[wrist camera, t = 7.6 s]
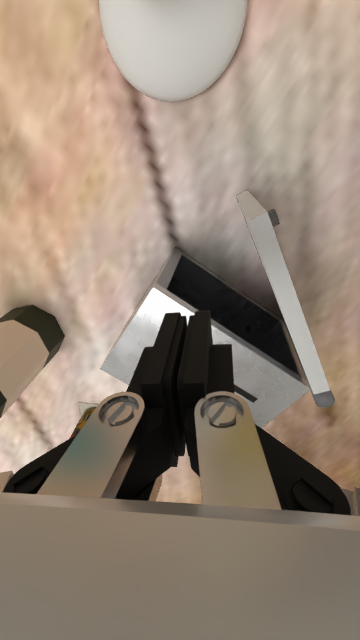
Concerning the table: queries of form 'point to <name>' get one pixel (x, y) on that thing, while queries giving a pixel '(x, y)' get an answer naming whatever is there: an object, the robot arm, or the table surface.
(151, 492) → the robot arm
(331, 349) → the table surface
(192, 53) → the flower in vase
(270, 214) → the door
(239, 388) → the white slider console
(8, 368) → the wine bottle
